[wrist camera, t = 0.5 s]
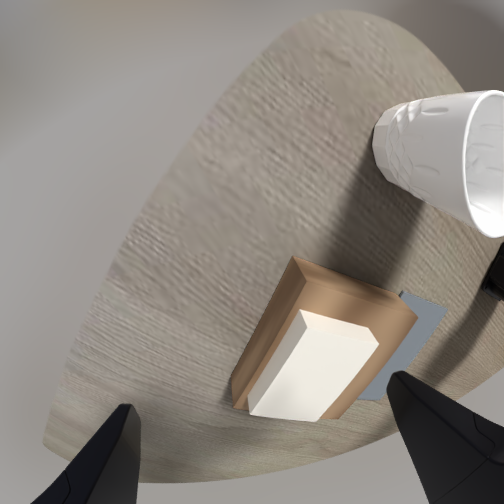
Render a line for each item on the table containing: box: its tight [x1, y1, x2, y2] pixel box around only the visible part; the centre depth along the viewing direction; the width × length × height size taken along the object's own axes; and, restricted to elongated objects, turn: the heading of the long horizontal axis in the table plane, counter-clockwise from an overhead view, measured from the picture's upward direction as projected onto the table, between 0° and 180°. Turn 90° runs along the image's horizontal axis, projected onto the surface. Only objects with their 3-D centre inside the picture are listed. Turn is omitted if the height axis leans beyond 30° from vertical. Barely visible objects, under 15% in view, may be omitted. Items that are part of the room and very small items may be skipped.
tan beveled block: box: [231, 256, 419, 419], centre depth 23 cm, size 11×13×4 cm
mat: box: [357, 291, 448, 400], centre depth 27 cm, size 8×14×1 cm, turn 158°
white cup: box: [372, 90, 504, 238], centre depth 14 cm, size 8×8×10 cm
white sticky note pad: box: [248, 309, 379, 422], centre depth 19 cm, size 6×9×2 cm, turn 158°
